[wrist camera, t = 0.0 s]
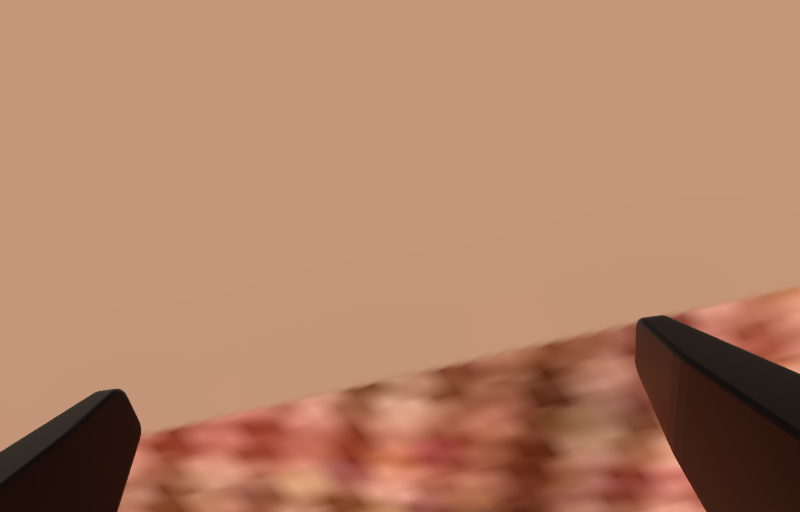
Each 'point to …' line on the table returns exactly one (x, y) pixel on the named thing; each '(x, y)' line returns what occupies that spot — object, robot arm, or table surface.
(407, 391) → the table surface
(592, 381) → the table surface
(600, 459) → the table surface
